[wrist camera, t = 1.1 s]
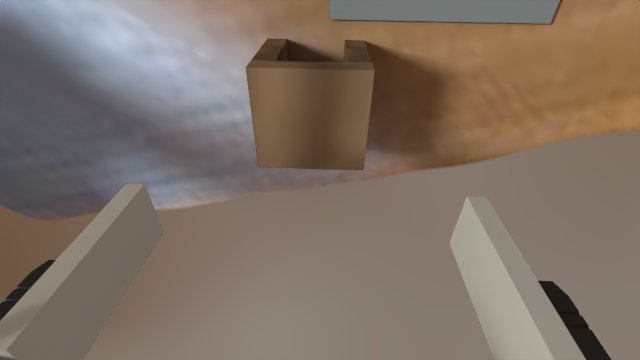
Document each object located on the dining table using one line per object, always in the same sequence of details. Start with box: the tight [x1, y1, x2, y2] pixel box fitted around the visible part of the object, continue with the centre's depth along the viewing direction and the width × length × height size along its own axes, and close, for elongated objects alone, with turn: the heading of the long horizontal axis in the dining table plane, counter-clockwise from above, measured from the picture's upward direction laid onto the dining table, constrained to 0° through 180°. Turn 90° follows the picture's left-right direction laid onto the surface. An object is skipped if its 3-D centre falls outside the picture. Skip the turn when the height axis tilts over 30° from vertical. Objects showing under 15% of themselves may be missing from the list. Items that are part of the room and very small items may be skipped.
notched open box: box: [246, 39, 375, 170], centre depth 23 cm, size 8×7×8 cm
